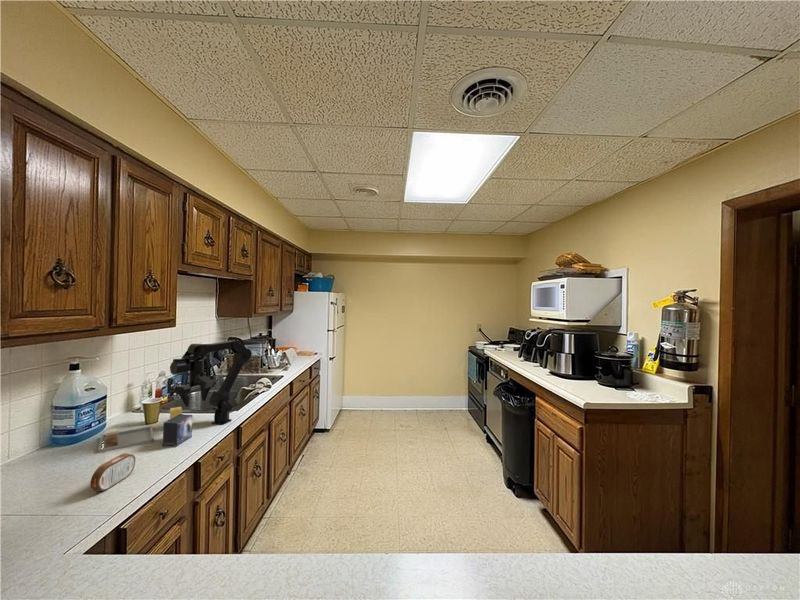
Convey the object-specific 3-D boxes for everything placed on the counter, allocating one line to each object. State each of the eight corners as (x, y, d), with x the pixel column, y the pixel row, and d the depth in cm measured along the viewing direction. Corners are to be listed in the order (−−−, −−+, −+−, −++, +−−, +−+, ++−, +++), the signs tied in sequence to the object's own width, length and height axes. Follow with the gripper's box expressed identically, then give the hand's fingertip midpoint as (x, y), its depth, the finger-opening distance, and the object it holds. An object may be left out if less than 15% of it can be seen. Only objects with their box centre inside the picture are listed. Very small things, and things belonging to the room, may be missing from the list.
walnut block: (117, 442, 144) (117, 433, 144) (117, 446, 140) (117, 436, 140) (105, 445, 141) (106, 435, 141) (105, 448, 138) (105, 438, 138)
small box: (176, 447, 141) (177, 422, 141) (161, 447, 141) (162, 422, 141) (193, 437, 152) (193, 414, 151) (178, 436, 152) (179, 413, 152)
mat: (177, 420, 170) (177, 420, 170) (196, 423, 167) (196, 423, 167) (154, 429, 159) (154, 429, 159) (173, 433, 155) (174, 432, 155)
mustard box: (180, 423, 166) (181, 406, 166) (181, 426, 162) (182, 409, 162) (169, 425, 163) (170, 408, 163) (170, 428, 160) (170, 410, 160)
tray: (151, 429, 159) (151, 426, 159) (153, 442, 145) (153, 439, 145) (101, 438, 148) (101, 435, 148) (97, 453, 134) (97, 450, 134)
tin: (128, 472, 121) (129, 448, 121) (137, 472, 121) (137, 449, 121) (88, 496, 106) (89, 469, 106) (98, 496, 106) (99, 470, 106)
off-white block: (118, 437, 149) (118, 428, 149) (117, 440, 146) (117, 431, 146) (106, 439, 147) (106, 430, 147) (106, 442, 143) (106, 433, 143)
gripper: (192, 376, 147) (192, 411, 147) (225, 368, 165) (225, 399, 165) (173, 374, 150) (172, 409, 150) (207, 366, 168) (206, 397, 168)
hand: (195, 403), depth 158 cm, fingers open, 9 cm apart
